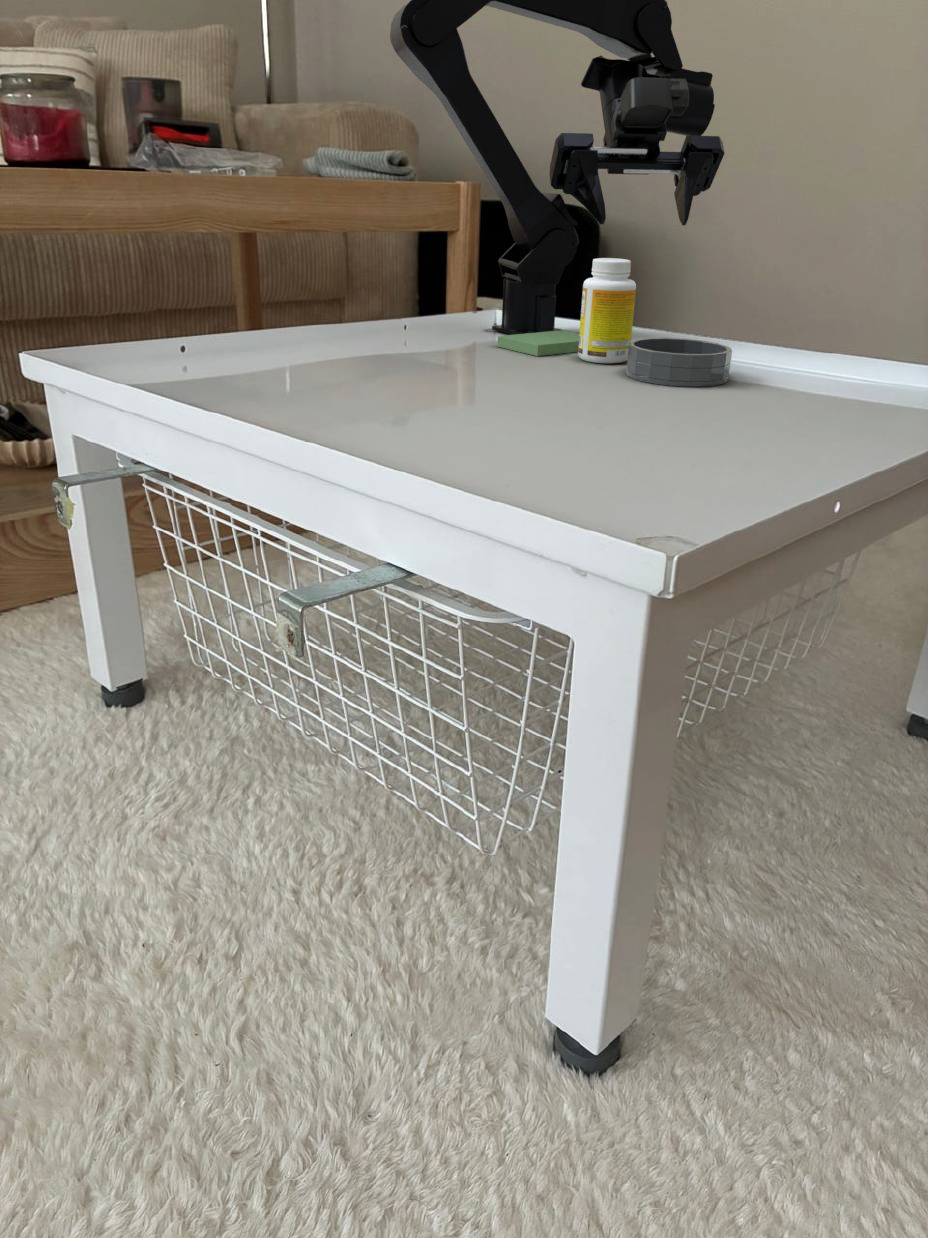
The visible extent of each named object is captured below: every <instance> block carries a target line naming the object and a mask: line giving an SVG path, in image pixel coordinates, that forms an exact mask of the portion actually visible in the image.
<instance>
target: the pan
mask: <svg viewBox="0 0 928 1238" xmlns="http://www.w3.org/2000/svg"><path fill="white" fill-rule="evenodd" d="M732 355H733V350H732V348H731V347H730V346H728V345H725V344H722V343H718V342H713V341H707V340H700V339H690V338H677V337H676V338H675V337H648V338H647V337H646V338H638V339H634V340H631V342H629V347H628V357H627V360H626V372H625V374H626V376H627V377H629V378H631V379H633V380H636V381H639V382H643V383H647V384H653V385H661V386H668V387H669V386H670V387H684V388H686V387H688V388H690V387H691V388H701V387H714V386H720V385H723V384H726V383H727V382H728V377H729V376H730V370H731V362H732Z"/></svg>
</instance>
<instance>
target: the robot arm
mask: <svg viewBox="0 0 928 1238" xmlns="http://www.w3.org/2000/svg"><path fill="white" fill-rule="evenodd" d="M484 7H490V8H494V9H497V10H501V11H504V12H508V13H512V14H514V15H518V16H522V17H525V18H529V19H532V20H535V21H539V22H542V23H546V24H549V25H552V26H556V27H560V28H564V29H567V30H571V31H574V32H577V33H578V34H581V35H583V36H584V37H586V38H588V39H589V40H590V41H592V42H593V43H594V44H595V45H596V46H598V47H600V48H602V49H604V50H606V51H607V52H609V53H610V54H613V55H615V56H617V57H619V58H621V59H619V58H616V59H613V58H606V57H604V56H603V55H599V56H596V57H593V58H592V59H591V61H590V63H589V65H588V67H587V69H586V71H585V74H584V76H583V78H582V80H581V82H580V86H581V87H582V88H584V89H588V90H593V91H597V92H599V99H600V105H601V112H602V120H603V127H604V135H603V139H602V141H603V142H602V143H603V145H594V141H595V140H594V133H589V132H588V133H587V132H586V133H585V132H584V133H583V132H581V133H580V132H561V133H559V135H558V136H557V137H556V138H555V139H554V140H555V141H554V144H553V150H552V155H551V160H550V163H549V183H550V187H552V188H553V189H554V190H562V192H563V194H565V195H571V196H572V197H573V198H574V199H576V200H577V201H578V202H579V203H580V204H581V205H582V206H583V207H584V208H585V209H586V210H587V211H588V212H589V213H590V214H591V216H592V217H593V218H594V219H595V220H596V221H597V222H598V224H599V225H605V222H606V219H607V215H606V203H605V199H604V194H603V190H602V185H601V180H600V176H599V170H607V171H606V172H607V175H673V182H674V187H675V190H674V192H673V196H674V201H675V205H676V210H677V215H678V220H679V222H680V224H681V226H687V223H688V221H689V218H690V212H691V210H692V209H691V208H692V204H693V200H694V197H697V196H698V195H699V196H700V194H701V193H702V192H703V193H704V192H706V191H707V190H709V189H711V186H712V184H713V182H714V180H715V177H716V174H717V173H718V170H719V169H720V166H721V163H722V161H723V159H724V157H725V154H726V152H725V147H724V142H723V140H722V138H721V137H720V136H719V135H704V133H705V132H706V131H707V129H708V127H709V125H710V123H711V121H712V118H713V115H714V111H715V107H716V104H715V103H714V102H715V92H714V89H713V86H712V82H713V81H712V80H713V73H711V72H708V71H703V70H701V71H696V70H695V71H694V70H692V69H691V70H690V69H686V68H683V66H684V64H683V61H682V59H681V55H680V53H679V49H678V46H677V44H676V40H675V37H674V34H673V30H672V24H673V19H672V12H671V10H670V8H669V4H668V1H667V0H409V1H408V2H407V3H406V4H405V5H403V6H402V7H400V8H399V10H398V11H397V12H396V13H395V14H394V16H393V18H392V21H391V23H390V31H389V39H390V44H391V46H392V48H393V50H394V52H395V54H396V55H397V56H398V58H400V60H401V61H402V62H403V63H404V64H405V66H406V67H407V68H408V69H409V70H410V71H411V72H412V74H414V76H415V77H416V78H417V79H418V80H419V81H421V83H422V84H424V86H425V87H427V88H428V89H429V90H430V91H431V92H432V93H433V94H434V95H435V96H436V97H437V98H438V100H439V101H440V103H441V104H442V106H443V108H444V110H445V111H446V113H447V114H448V117H449V118H450V119H451V121H452V122H453V124H454V126H455V128H456V129H457V131H458V132H459V134H460V136H461V137H462V139H463V141H464V143H465V144H466V146H467V147H468V149H469V151H470V152H471V154H472V156H473V157H474V159H475V160H476V162H477V164H478V165H479V167H480V169H481V170H482V172H483V174H484V175H485V177H486V179H487V180H488V182H489V184H490V185H491V187H492V188H493V190H494V192H495V193H496V195H497V197H498V199H499V200H500V202H501V203H502V205H503V208H504V211H505V215H506V219H507V225H508V228H509V231H510V233H511V236H512V238H513V241H514V243H513V244H512V245H511V246H510V247H509V248H508V249H507V250H506V251H505V252H504V253H503V254H502V255H501V256H500V257H499V258H498V260H497V262H498V266H499V267H498V268H499V270H500V274H501V276H502V277H503V286H502V287H503V288H502V309H501V324H498V325H491V330H492V331H496V332H501V333H505V334H508V335H515V334H526V333H537V332H548V331H559V330H563V329H562V328H557V327H555V323H556V322H555V321H556V307H557V295H556V287H557V286H556V285H558V284H559V283H560V280H561V278H562V275H563V273H564V271H565V268H566V267H567V266H568V265H569V264H570V263H571V262H572V261H573V260H574V258H575V256H576V254H577V251H578V246H579V243H580V242H579V235H578V233H577V230H576V228H575V227H577V226H579V222H578V221H577V220H575V219H574V218H573V217H572V215H571V214H570V213H569V210H568V207H567V205H566V203H565V200H564V198H563V196H562V195H561V193H554V192H553V193H552V192H543V193H542V192H541V191H540V190H539V188H538V187H537V186H536V184H535V183H534V181H533V179H532V177H531V176H530V174H529V172H528V171H527V169H526V168H525V166H524V164H523V163H522V161H521V159H520V157H519V156H518V154H517V152H516V151H515V148H514V147H513V145H512V144H511V141H510V140H509V138H508V137H507V135H506V133H505V131H504V130H503V128H502V126H501V125H500V123H499V121H498V120H497V117H496V116H495V114H494V113H493V111H492V109H491V108H490V106H489V104H488V102H487V101H486V99H485V97H484V95H483V94H482V92H481V90H480V89H479V86H478V85H477V83H476V82H475V80H474V78H473V77H472V75H471V71H470V69H469V64H468V61H467V57H466V52H465V49H464V48H465V47H464V45H463V41H462V39H461V38H462V37H461V36H460V33H459V31H458V28H459V27H460V26H462V25H463V24H464V23H466V22H467V21H468V20H470V19H471V18H472V17H473V16H474V15H475V14H477V13H478V12H479V11H480V10H482V9H483V8H484ZM652 55H653V56H652ZM667 133H669V134H674V135H679V136H685V139H684V141H683V144H682V146H681V149H680V151H661V146H660V143H661V142H664V141H665V140H666V137H667Z"/></svg>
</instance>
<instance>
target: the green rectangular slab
mask: <svg viewBox="0 0 928 1238" xmlns="http://www.w3.org/2000/svg"><path fill="white" fill-rule="evenodd" d="M579 334H580V332H579V333H578V332H573V331H568V330H565V329H562V330H559V331H548V332H537V333H526V334H515V335H514V334H505V335H498V336H497V347H498V348H502V349H505V350H510V351H513V352H518V353H523V354H525V355H526V354H527V355H531V356H534V357H543V356H553V355H561V354H571V353H578V349H579Z"/></svg>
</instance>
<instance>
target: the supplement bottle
mask: <svg viewBox="0 0 928 1238" xmlns="http://www.w3.org/2000/svg"><path fill="white" fill-rule="evenodd" d="M631 265H632V261H631V260H630V259H626V258H616V257H598V258H593V259H592V266H591V275H592V277H588V278H586V279H585V280H584V281H583V284H582V295H581V310H580V321H579V349H578V352H577V353H578V357H579V359H581V360H582V361H585V362H588V363H594V364H620V363H624V362H627V357H628V347H629V342H631V341H632V334H633V324H634V316H635V315H634V313H635V302H636V295H637V283H636V281H634V280H633V279H631V278H629V277H630V276H631V271H632V270H631V267H632V266H631Z"/></svg>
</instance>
